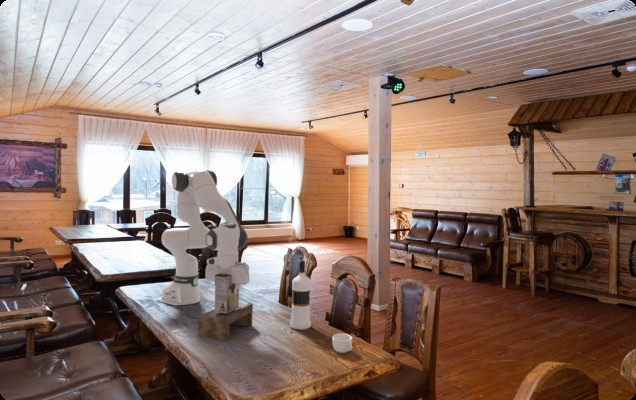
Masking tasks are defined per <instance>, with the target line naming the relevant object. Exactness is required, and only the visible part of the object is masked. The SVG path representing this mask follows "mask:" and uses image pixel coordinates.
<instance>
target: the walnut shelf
mask: <svg viewBox="0 0 636 400" xmlns="http://www.w3.org/2000/svg"><path fill="white" fill-rule="evenodd" d="M253 304H254V303H248V304H246V305H244V306H241V305H238V308H237V309H235V310H233V311H231V312H230V313H228V314H225V313H219V312H215V308H214V309H211V310H210V311H207V312H205V313H203V314H202V315H199V316H198V327H197V328H198V331H197V332H198V333H197V334H198V336H199V337H205V338H210V339H214V340H215V339H216V340H219V341H224V342H227V341H230V329H231V325H230V324H232V325H236V326H237V325H238V326H243V327H253V311H254V310H253V306H254V305H253Z"/></svg>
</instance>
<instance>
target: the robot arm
mask: <svg viewBox="0 0 636 400" xmlns="http://www.w3.org/2000/svg"><path fill="white" fill-rule="evenodd" d="M171 177H172V178H171V186H172V188H173V189H174V191H175V192H178V193H177V209H176V210H177V211H176V216H177V218H178V219H179V220H180V221H182V222H184V223H186V224H188V225H189V227H174V228H168V229H167V228H166V229H165V230H164V231H163V233H162V234H161V244H162V245H163V247H165V248H166V249H167V250H168V251H169V252H170V253H171V254H172V256H173V258H174V262H175V274H174V275H172V276H171V279H172V280H173V281H172V282H170V283H169V284H167V286H165V287H164V288H163V289H162V292H161V296H159V297H158V298H157V299H156V301H157V302H160V303H163V304H167V305H168V304H169V305H172V306H181V305H183V306H186V305H193V304H196V303H197V304H198V303H199V302H201V297H200V291H199V279H200V276H199V272H198V271H199V261H198V258H197V257H196V256H195V255H192V254H190V253H187V250H188V249H189V250H190V249H203V248H208V249H210V250H211V251H212V250H213V251H217V253H216V255H217V256H214V257H211V258H208V259H206V264H207V265H206V266H205V271H204V272H205V276H204V277H205V279H206V280H207V281H211V282H215V275H217V274H227V275H231V283H232V284H235V286H236V287H235V289H233V290H232V294H237V289H238V288H239V289H240V286H241V285H242V286H246V285H248V284H249V283H250V266H249V265H248V264H247V262H241V261H239V251H238V250H242V249H243V248H244V247H245V246H246V245H247V243H248V240H249V239H248V238H249V237H248V234H247V231H246V230H245V228H243V226H242V224H241V222H240V221H239V218H238V216H237V215H236V213H235V211H234V209H233V208H232V205H231V204H230V202H229V201H228V200H227V199H226V198H225V197H223V196H222V195H221V193H220V192H219V190H218V187H217V184H218V177H217V175H216V173H215V172H214V171H213V170H208V169H206V170H204V169H203V170H202V169H194V170H193V169H192V170H191V169H188V170H182V169H181V170H176V171H175V172H174V173H173V174H172V176H171ZM200 208H201V209H203V210H205V211H208V212H209V211H210V212H212V213H216V214H218V215H219V216H221V217H222V218H223V219H224V221H225V222H221V223H219V225H218V226H217V227H215V228H213V229H209V228H208V227H206V225H205V224H204V222H203V221H202V219H201V214H200V213H201V212H200Z"/></svg>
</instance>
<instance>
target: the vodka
mask: <svg viewBox="0 0 636 400" xmlns="http://www.w3.org/2000/svg"><path fill="white" fill-rule="evenodd" d="M298 262H299V263H298V275H297V276H295V277H294V278H293V279H292V283H291V285H292V286H291V288H292V289H291V290H292V295H291V297H292V299H291V300H292V301H291V302H292V303H291V316H290V321H289V322H290V323H289V326H290V327H291V329H293V330H296V331H297V330H298V331H306V330H308V329H309V328H311V326H312V324H311V323H312V322H311V316H310V314H311V313H310V312H311V311H310V310H311V289H312V287H311V285H312V281H311V278H309V277H308V276H307V275H305V273H306V269H305V268H306V261H305V260H299V261H298Z"/></svg>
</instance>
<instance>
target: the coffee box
mask: <svg viewBox="0 0 636 400" xmlns="http://www.w3.org/2000/svg"><path fill="white" fill-rule="evenodd" d="M235 287H236V286H235V284H232V283H231V275H227V274H217V275H215V281H214V309H215V312H219V313H225V314H228V313H230V312H231V311H233V310H235V309H237V308H238V306H239V304H240V303H239V297H240V296H239V289H240V287H239V288H238V289H237V294H232V290H233V289H235Z"/></svg>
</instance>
